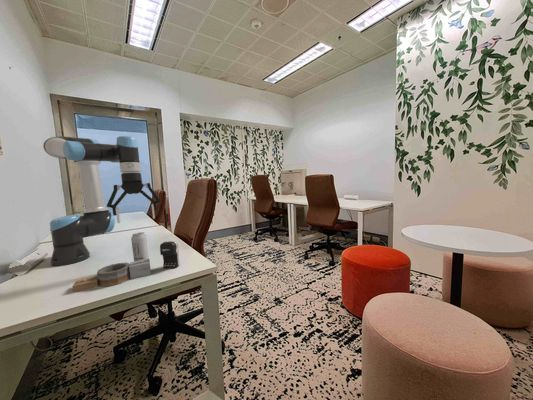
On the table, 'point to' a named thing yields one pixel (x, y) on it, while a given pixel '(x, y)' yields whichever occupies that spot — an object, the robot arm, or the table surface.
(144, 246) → the energy drink can
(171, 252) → the battery
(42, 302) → the table surface
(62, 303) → the table surface
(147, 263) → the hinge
